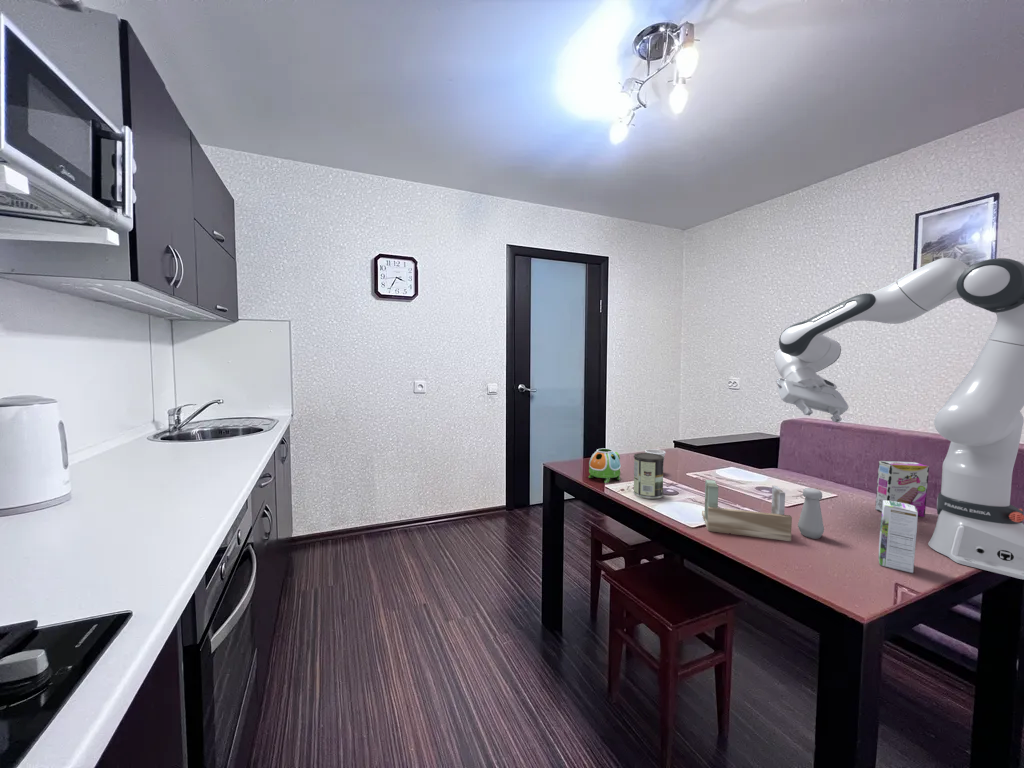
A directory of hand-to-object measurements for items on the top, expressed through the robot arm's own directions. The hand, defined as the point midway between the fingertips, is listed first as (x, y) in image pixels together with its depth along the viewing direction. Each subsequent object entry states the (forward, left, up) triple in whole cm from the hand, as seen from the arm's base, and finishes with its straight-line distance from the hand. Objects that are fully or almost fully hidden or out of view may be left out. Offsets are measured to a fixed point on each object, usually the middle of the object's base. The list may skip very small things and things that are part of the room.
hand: (823, 417), depth 116 cm
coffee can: (+43, +24, -32) cm, 59 cm away
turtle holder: (+66, +22, -32) cm, 77 cm away
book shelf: (+10, +24, -32) cm, 41 cm away
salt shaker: (-3, +14, -32) cm, 35 cm away
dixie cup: (+59, 0, -32) cm, 67 cm away
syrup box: (-21, +15, -32) cm, 41 cm away
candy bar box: (-11, -30, -32) cm, 45 cm away
